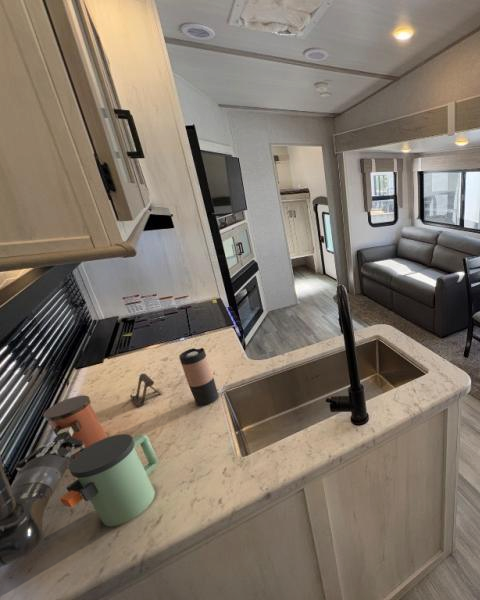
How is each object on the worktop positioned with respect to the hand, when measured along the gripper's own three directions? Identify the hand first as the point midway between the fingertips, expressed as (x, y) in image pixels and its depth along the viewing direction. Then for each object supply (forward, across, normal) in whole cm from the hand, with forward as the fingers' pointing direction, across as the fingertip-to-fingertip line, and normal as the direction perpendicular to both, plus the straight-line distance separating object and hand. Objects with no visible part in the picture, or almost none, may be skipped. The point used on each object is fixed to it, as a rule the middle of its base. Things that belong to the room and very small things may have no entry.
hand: (64, 435), depth 85 cm
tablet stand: (+27, -13, +11) cm, 32 cm away
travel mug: (+11, -32, +11) cm, 36 cm away
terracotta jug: (+9, 0, +11) cm, 14 cm away
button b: (+1, 0, +1) cm, 1 cm away
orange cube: (-31, -10, -1) cm, 32 cm away
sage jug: (-25, -16, +10) cm, 31 cm away
